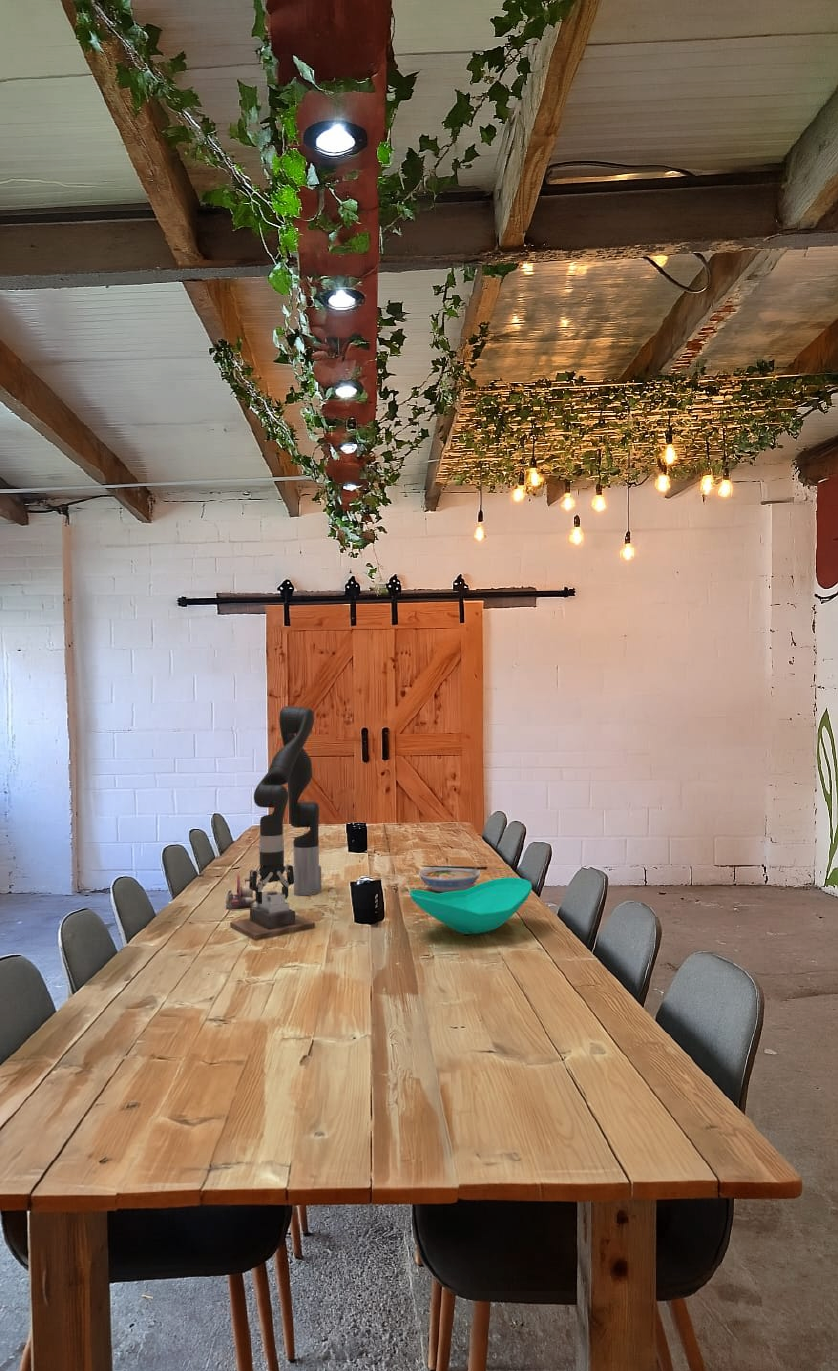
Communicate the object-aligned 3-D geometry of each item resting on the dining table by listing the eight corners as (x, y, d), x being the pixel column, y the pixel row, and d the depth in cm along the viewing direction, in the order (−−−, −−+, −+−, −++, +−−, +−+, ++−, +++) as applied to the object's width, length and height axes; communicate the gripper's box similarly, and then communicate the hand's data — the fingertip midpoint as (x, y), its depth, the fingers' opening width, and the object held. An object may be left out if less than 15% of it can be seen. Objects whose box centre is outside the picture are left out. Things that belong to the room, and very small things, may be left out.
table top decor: (434, 954, 214) (434, 905, 214) (393, 928, 239) (393, 885, 239) (553, 933, 231) (552, 889, 232) (503, 911, 256) (503, 871, 256)
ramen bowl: (407, 897, 276) (407, 874, 277) (425, 883, 298) (425, 861, 298) (476, 902, 269) (475, 878, 269) (489, 886, 291) (489, 864, 291)
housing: (288, 911, 240) (288, 894, 240) (270, 914, 236) (269, 897, 236) (274, 904, 248) (274, 888, 248) (255, 908, 244) (255, 891, 244)
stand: (287, 915, 255) (287, 898, 255) (315, 927, 241) (314, 909, 241) (230, 927, 243) (230, 909, 243) (255, 940, 229) (255, 921, 229)
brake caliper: (217, 897, 271) (239, 868, 273) (243, 914, 273) (264, 885, 276) (219, 905, 260) (241, 875, 262) (246, 923, 262) (267, 892, 265)
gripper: (256, 853, 235) (256, 907, 235) (297, 847, 244) (298, 899, 243) (245, 850, 241) (245, 902, 241) (286, 844, 250) (286, 895, 249)
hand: (272, 901), depth 242 cm, fingers open, 8 cm apart
